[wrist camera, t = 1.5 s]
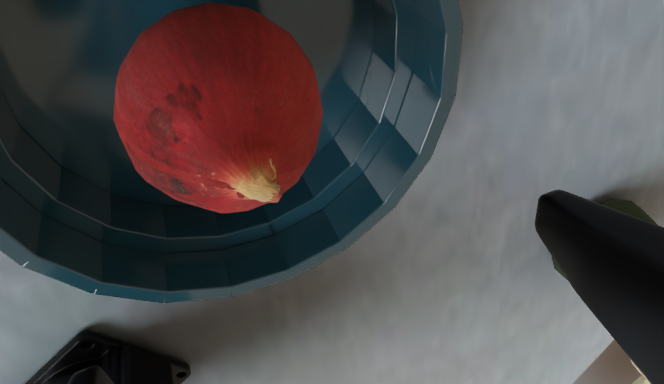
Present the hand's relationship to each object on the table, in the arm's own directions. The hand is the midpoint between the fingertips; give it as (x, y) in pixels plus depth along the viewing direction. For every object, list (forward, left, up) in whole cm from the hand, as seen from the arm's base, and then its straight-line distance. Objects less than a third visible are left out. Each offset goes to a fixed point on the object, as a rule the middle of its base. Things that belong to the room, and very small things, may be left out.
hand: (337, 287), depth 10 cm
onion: (-1, +1, -11) cm, 11 cm away
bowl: (-1, +1, -12) cm, 12 cm away
